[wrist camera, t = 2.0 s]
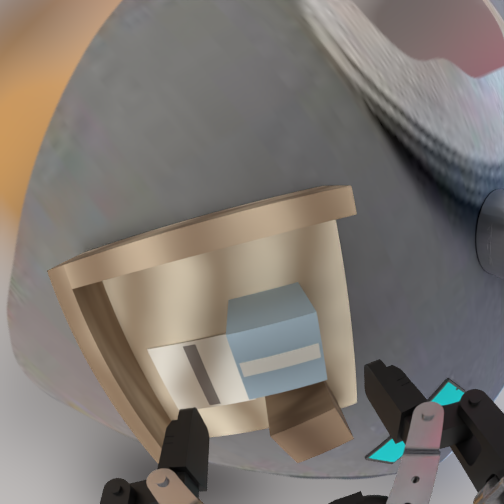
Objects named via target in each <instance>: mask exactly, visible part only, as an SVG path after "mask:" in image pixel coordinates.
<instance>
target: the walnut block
mask: <svg viewBox="0 0 504 504" xmlns="http://www.w3.org/2000/svg"><path fill="white" fill-rule="evenodd" d="M265 401H266V408H267V416H268V423H269V430H270V436H271V437H272V438H273V439H274V440H275V441H276V442H277V444H278V445H279V446H280V447H281V448H283V449H284V450H285V451H286V452H287V453H288V454H289V455H290V456H291V457H292V458H293V459H294V460H295V461H296V462H297V463H299V462H302V461H305V460H307V459H310V458H312V457H315V456H317V455H320V454H322V453H324V452H327V451H329V450H331V449H333V448H336V447H338V446H340V445H342V444H344V443H346V442H348V441H350V440H352V439H354V438H353V436H352V433H351V431H350V429H349V427H348V424H347V422H346V420H345V417H344V415H343V413H342V411H341V408H340V406H339V404H338V402H337V400H336V398H335V396H334V395H333V393H332V391H331V390H330V388H329V386H328V384H327V383H326V381H321V382H318V383H315V384H311V385H308V386H304V387H301V388H297V389H293V390H289V391H285V392H281V393H277V394H273V395H269V396H265Z"/></svg>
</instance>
